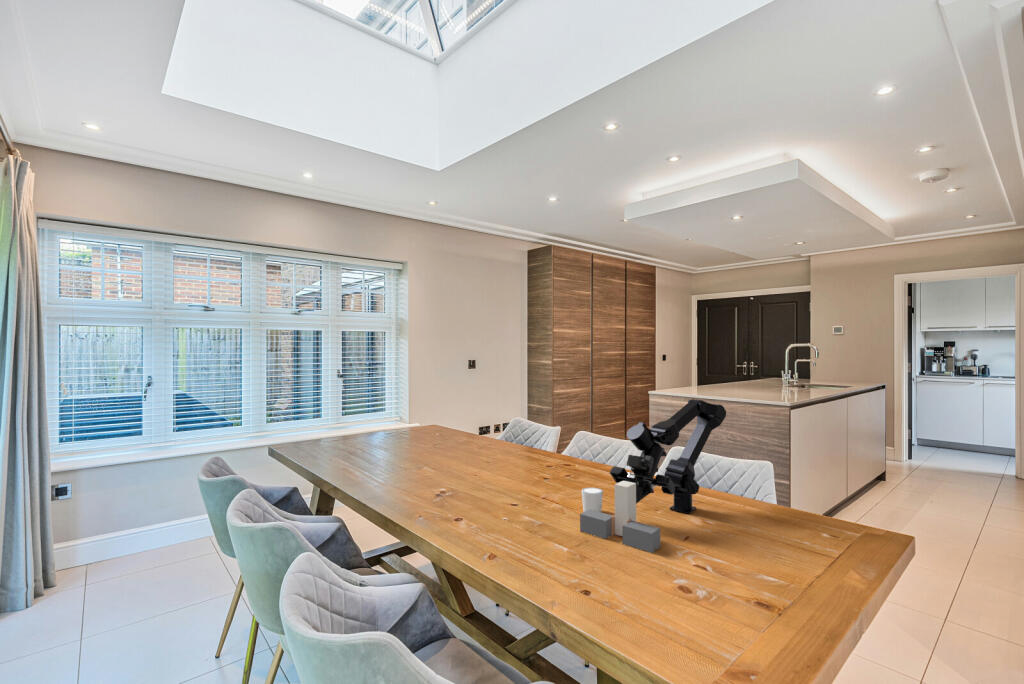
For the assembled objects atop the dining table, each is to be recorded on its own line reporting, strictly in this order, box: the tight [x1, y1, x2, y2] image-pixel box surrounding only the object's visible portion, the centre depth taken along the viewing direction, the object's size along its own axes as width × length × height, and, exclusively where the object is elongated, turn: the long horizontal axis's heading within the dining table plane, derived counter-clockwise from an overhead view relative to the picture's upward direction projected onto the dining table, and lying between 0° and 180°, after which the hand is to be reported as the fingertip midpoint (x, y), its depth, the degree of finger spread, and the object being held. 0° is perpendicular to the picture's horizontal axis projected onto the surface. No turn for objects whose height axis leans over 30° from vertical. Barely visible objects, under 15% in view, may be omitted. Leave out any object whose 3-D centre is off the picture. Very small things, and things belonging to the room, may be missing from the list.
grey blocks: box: [579, 510, 662, 554], centre depth 132 cm, size 5×22×5 cm, turn 48°
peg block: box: [614, 481, 637, 537], centre depth 135 cm, size 5×4×14 cm
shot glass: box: [581, 487, 604, 513], centre depth 154 cm, size 7×7×7 cm
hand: (632, 504), depth 138 cm, fingers closed
